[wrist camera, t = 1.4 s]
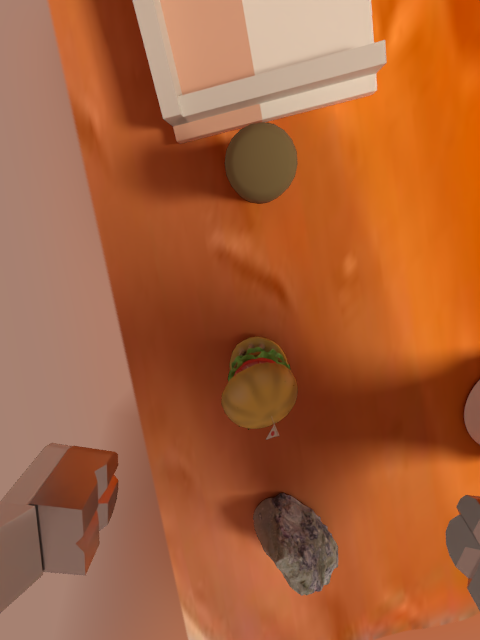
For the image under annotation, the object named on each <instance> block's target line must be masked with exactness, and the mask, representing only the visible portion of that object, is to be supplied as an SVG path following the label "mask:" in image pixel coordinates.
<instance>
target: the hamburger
mask: <svg viewBox="0 0 480 640" xmlns="http://www.w3.org/2000/svg"><path fill="white" fill-rule="evenodd" d="M229 367H230V372H229V376H228V384H227V385H226V387H225V389H224V391H223V393H222V399H221V404H222V407H223V409H224V412H225V413H226V415H227V416H228V417H229V419H230V420H231V421H232V422H234V423H235V424H237V425H239V427H240V426H241V427H244V428H248V430H249V429H250V428H251V429H259V428H264V427H268V426H271V425H273V424H274V426H273V428H272V429H271V431H270V433H269V435H268V436H267V438H266V440H267V439H270V438H273V437H276V436H279V433H278V431H277V428H276V426H275V423H278V422H279V421H280V420H282V419H283V418H284V417H285V416H286V415H288V414H289V412H290V411H291V409H292V408H293V406H294V404H295V402H296V399H297V394H298V387H297V382H296V379H295V377H294V376H293V373H292V372H291V370H290V365H289V364H288V361H287V358H286V355H285V353H284V351H283V350H282V349H281V347H280V346H279V345H278V344H276V343H275V342H274V341H272V340H270V339H267V338H264V337H259V336H256V337H250V338H248V339H246V340H243V341H242V342H241V343H239V344H237V345H236V347H235V349H234V350H233V352H232V356H231V359H230V364H229Z"/></svg>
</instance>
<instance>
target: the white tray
mask: <svg viewBox="0 0 480 640" xmlns="http://www.w3.org/2000/svg"><path fill="white" fill-rule="evenodd" d="M133 4H134V8H135V12H136V16H137V20H138V24H139V28H140V31H141V35H142V39H143V43H144V47H145V51H146V55H147V59H148V62H149V66H150V70H151V74H152V78H153V82H154V86H155V90H156V93H157V97H158V101H159V105H160V109H161V113H162V117H163V119H164V120H165V121H166V122H168V123H169V124H170V125H172V126H173V129H174V133H175V137H176V141H177V142H178V143H180V144H181V143H185V142H189V141H193V140H197V139H201V138H205V137H209V136H213V135H217V134H221V133H224V132H228V131H232V130H236V129H240V128H244V127H246V126H248V125H250V124H253V123H259V122H268V121H271V120H275V119H279V118H283V117H287V116H291V115H295V114H299V113H303V112H307V111H311V110H315V109H318V108H322V107H326V106H330V105H334V104H338V103H342V102H346V101H350V100H354V99H358V98H362V97H365V96H369V95H372V94H373V93H375V92H376V91H377V80H376V73H377V72H378V71H379V70H380V69H381V68H382V67H383V66H384V65H385V64H386V47H385V40H383V41H379V42H376V43H374V37H373V23H372V9H371V0H133Z"/></svg>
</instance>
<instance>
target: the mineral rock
mask: <svg viewBox="0 0 480 640" xmlns="http://www.w3.org/2000/svg"><path fill="white" fill-rule="evenodd" d="M253 520H254V528H255V531H256V534H257V536H258V538H259V540H260V542H261V544H262V547H263V550H264V551H265V552H266V554H267V555H268V556H269V557H270V558H271V559H272V560H273V561H274V563H275V565H276V566H277V568H278V569H279V570H280V571H281V572H282V574H283V575H284V578H285V579H286V580H287V582H288V584H289V586H290V587H291V588H292V589H294V590H295V591H296V592H297V593H299V594H300V595H308V594H312V593H314V592H315V591H321V590H322V588H323V585H327V584H329V582H330V578H331V574H332V571H333V570H334V568H336V567H338V546H337V543H336V542H335V540H334V539H333V537H332V534H331V533H330V532H329V531H328V530H327V526H326V525H324V524H323V523H322V522H321V520H320V517H319V516H317V515H316V514H315V513H314V511H313V510H312V509H311V508H309V507H307V506H305V505H303V504H301V503H300V502H299V501H298V500H296V499H295V498H294V497H292V496H290V495H286V494H285V493H280V494H279V495H277V496H276V497H274V498H267V499H265V500H264V501H262V502H261V503H260V504H259V505H258V507H257V508H256V509H255V511H254V516H253Z"/></svg>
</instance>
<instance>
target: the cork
mask: <svg viewBox="0 0 480 640" xmlns="http://www.w3.org/2000/svg"><path fill="white" fill-rule="evenodd" d="M297 164H298V163H297V151H296V149H295V146H294V144H293V141H292V139H291V138H290V137H289V136H288V134H287V133H286V132H285V131H284V130H283V129H281V128H279V127H278V126H276V125H274V124H270V123H265V122H259V123H253V124H250V125H248V126H246V127H244V128H243V129H241V130H240V131H239V132H238V133H237V134H236V135H235V136H234V137H233V138H232V140H231V142H230V144H229V146H228V148H227V150H226V157H225V169H226V175H227V177H228V180H229V182H230V184H231V186H232V187H233V188H234V190H235V191H236V192H237V193H238V194H239V195H240V196H241V197H242V198H243V199H245V200H247V201H249V202H252V203H258V204H261V203H267V202H270V201H272V200H274V199H276V198H277V197H278V196H280V195H281V194H282V193H283V192H284V191H285V190H286V189H287V188H288V187H289V186H290V184H291V182H292V181H293V179H294V177H295V173H296V169H297Z"/></svg>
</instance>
